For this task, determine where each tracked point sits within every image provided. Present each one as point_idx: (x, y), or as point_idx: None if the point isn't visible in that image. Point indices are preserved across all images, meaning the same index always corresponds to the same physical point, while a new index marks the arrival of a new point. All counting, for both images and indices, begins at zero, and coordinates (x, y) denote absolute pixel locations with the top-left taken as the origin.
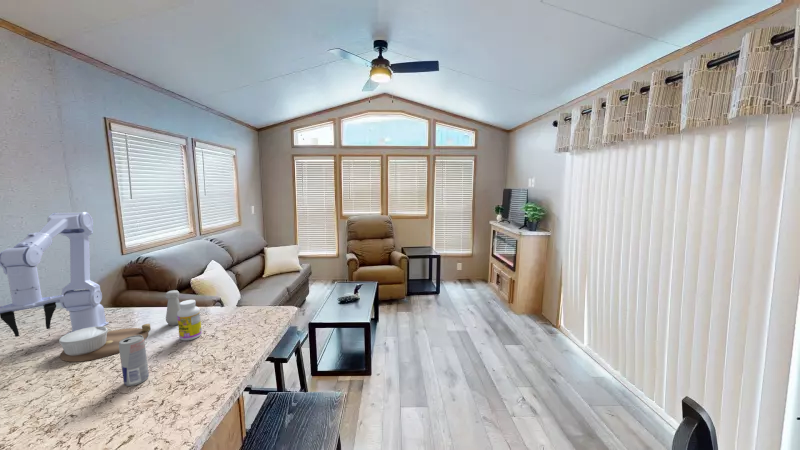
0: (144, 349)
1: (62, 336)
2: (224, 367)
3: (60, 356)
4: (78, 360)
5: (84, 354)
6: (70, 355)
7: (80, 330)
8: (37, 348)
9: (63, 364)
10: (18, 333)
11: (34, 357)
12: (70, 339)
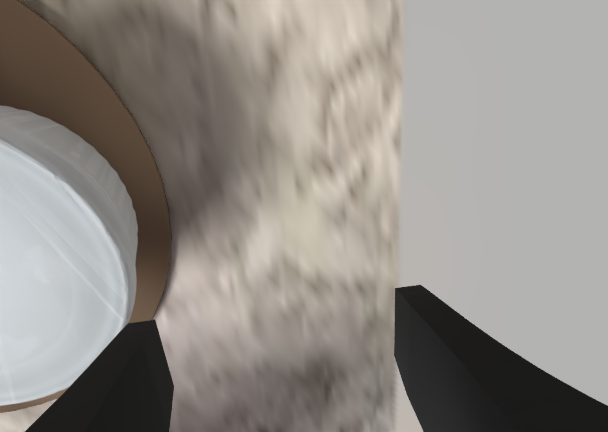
0: None
1: None
2: None
3: (162, 198)
4: (23, 6)
5: None
6: None
7: (6, 377)
8: (289, 413)
9: (127, 48)
10: (409, 304)
11: (293, 306)
12: (31, 215)
